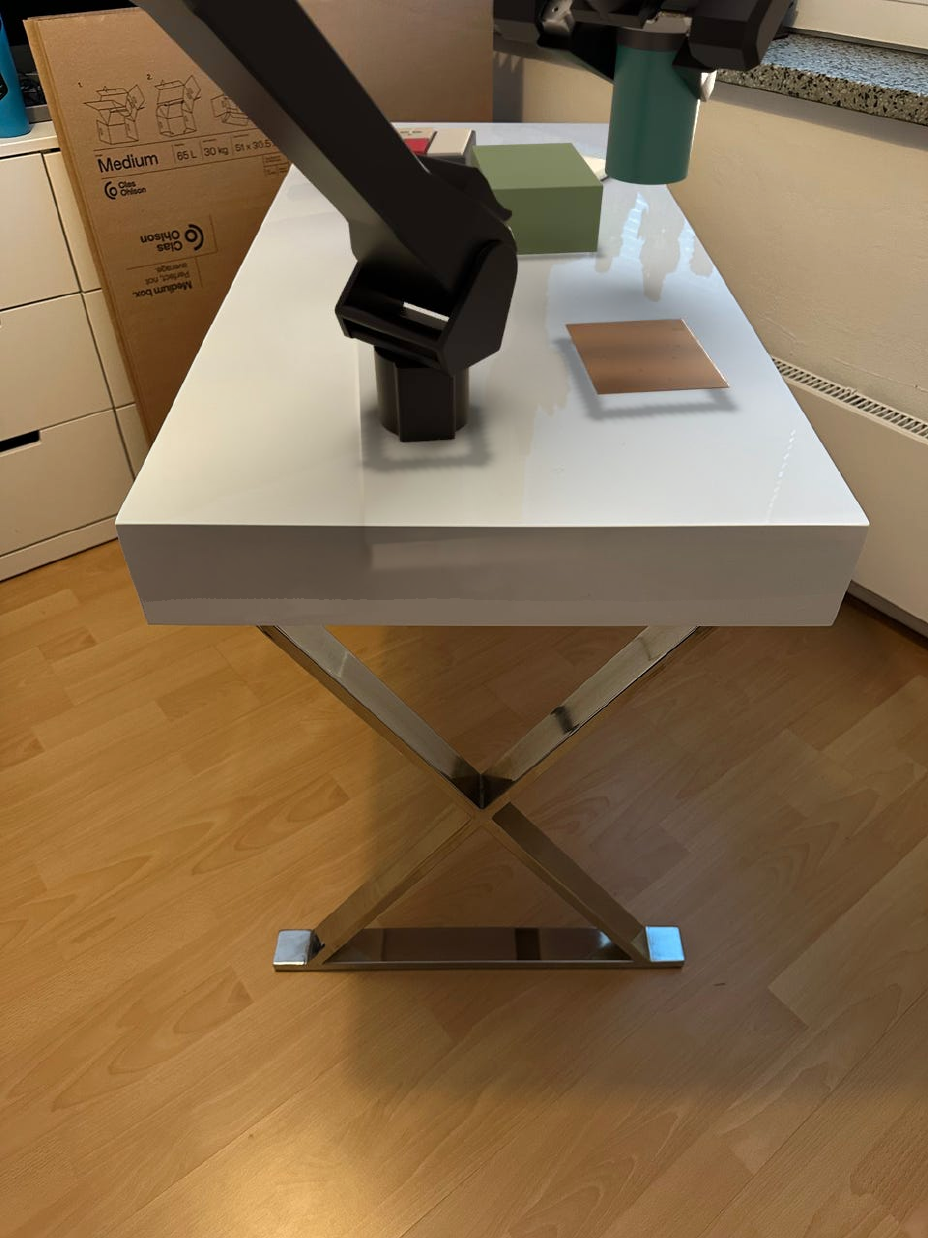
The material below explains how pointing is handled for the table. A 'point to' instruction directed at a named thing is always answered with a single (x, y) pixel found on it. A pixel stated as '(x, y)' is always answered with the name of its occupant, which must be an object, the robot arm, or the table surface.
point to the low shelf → (644, 357)
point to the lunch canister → (650, 107)
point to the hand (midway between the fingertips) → (666, 88)
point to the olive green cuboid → (544, 195)
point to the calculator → (441, 142)
